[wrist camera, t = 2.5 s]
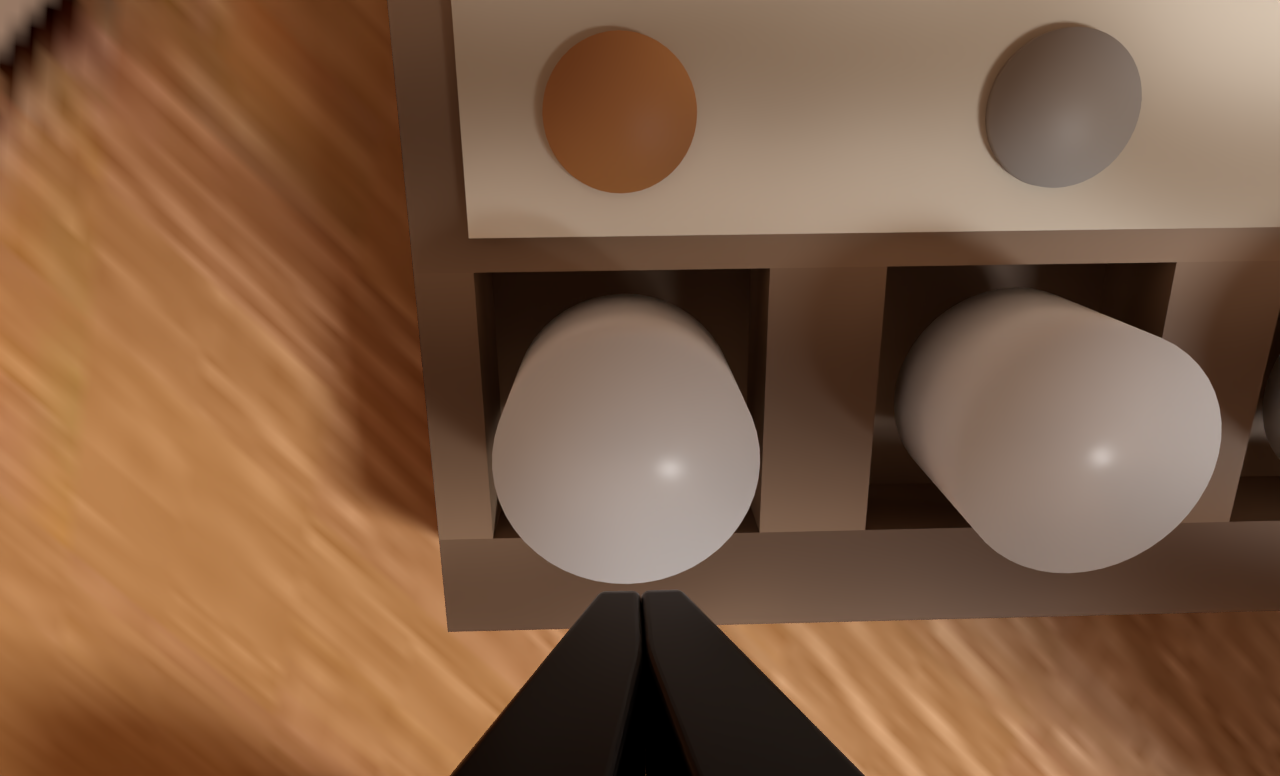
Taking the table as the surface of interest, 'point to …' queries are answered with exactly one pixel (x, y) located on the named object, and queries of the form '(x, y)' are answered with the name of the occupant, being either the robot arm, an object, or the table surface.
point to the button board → (843, 262)
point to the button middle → (1057, 428)
